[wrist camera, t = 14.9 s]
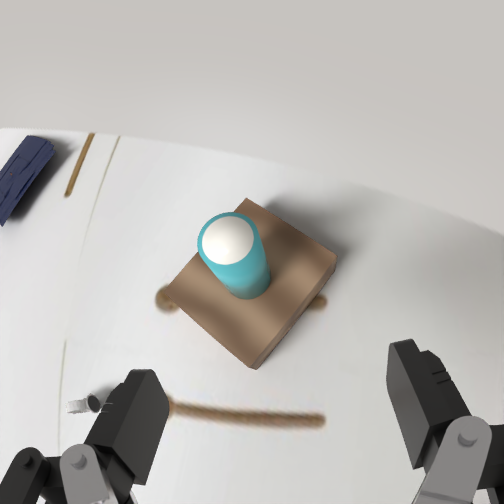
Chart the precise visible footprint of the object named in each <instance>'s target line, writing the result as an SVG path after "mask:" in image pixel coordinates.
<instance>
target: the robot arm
mask: <svg viewBox="0 0 504 504" xmlns="http://www.w3.org/2000/svg"><path fill="white" fill-rule="evenodd" d="M386 382H387V390H388V394H389V397H390V399H391V402H392V405H393V408H394V411H395V414H396V417H397V420H398V423H399V426H400V429H401V432H402V435H403V438H404V441H405V445H406V448H407V451H408V454H409V458H410V461H411V464H412V468H413V469H417V468H420V467H424V470H425V473H426V476H425V478H424V480H423V482H422V484H421V486H420V488H419V490H418V492H417V494H416V496H415V498H414V500H413V502H412V503H411V504H473V503H472V502H473V498H474V495H475V492H476V490H479V489H487V492H488V496H489V499H490V503H491V504H504V424H503V425H488V424H487V423H486V422H485V421H484V420H483V419H481V418H479V417H476V416H472V415H471V413H470V412H469V410H468V408H467V406H466V404H465V402H464V400H463V399H462V397H461V395H460V393H459V391H458V389H457V388H456V386H455V384H454V382H453V381H451V377H450V375H449V374H448V372H446V368H445V367H444V365H443V363H442V362H441V360H440V358H438V357H437V356H436V355H434V354H433V353H432V352H430V351H429V350H427V351H423V352H420V351H419V349H418V347H417V345H416V344H415V342H414V340H413V339H407V340H403V341H398V342H394V343H390V345H389V353H388V365H387V375H386ZM105 403H106V404H105V405H104V406H103V408H102V409H101V413H99V415H98V417H97V419H96V421H95V423H94V425H93V426H92V428H91V430H90V432H89V434H88V436H87V438H86V440H85V442H84V443H83V444H77V445H74V446H71V447H70V448H68V449H67V450H66V451H65V452H64V453H63V454H62V456H59V457H44V456H43V455H42V454H41V453H40V451H39V450H38V449H36V448H33V447H28V448H25V449H23V450H21V451H20V452H18V453H17V455H16V456H15V457H14V459H13V461H12V463H11V465H10V467H9V469H8V471H7V472H6V474H5V476H4V478H3V480H2V482H1V484H0V504H36V502H37V500H38V498H39V495H40V496H41V497H43V498H44V499H45V500H46V502H45V504H138V502H137V500H136V498H135V496H134V494H133V492H132V491H131V488H132V485H133V484H139V485H145V484H146V481H147V478H148V475H149V472H150V469H151V466H152V463H153V460H154V457H155V454H156V451H157V448H158V445H159V442H160V439H161V436H162V433H163V430H164V427H165V424H166V421H167V418H168V415H169V401H168V398H167V396H166V394H165V392H164V390H163V388H162V386H161V384H160V382H159V380H158V378H157V376H156V374H155V372H154V371H153V370H151V369H133V370H131V371H130V372H129V374H128V376H127V378H126V380H125V381H124V383H120V384H119V385H118V386H117V387H116V388H115V389H114V390H113V391H112V392H111V393H110V395H109V397H108V398H107V400H106V402H105Z"/></svg>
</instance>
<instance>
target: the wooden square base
mask: <svg viewBox="0 0 504 504" xmlns="http://www.w3.org/2000/svg"><path fill="white" fill-rule="evenodd" d="M234 212H235V213H240V214H243V215H245V216H247V217H249V218H250V219H251V220H252V221H253V222H254V224H255V225H256V227H257V229H258V233H259V236H260V239H261V242H262V245H263V248H264V251H265V254H266V258H267V261H268V264H269V267H270V270H271V281H270V284H269V286H268V288H267V289H266V291H265V292H264V293H263V294H261V295H260V296H258V297H256V298H254V299H249V300H244V299H239V298H237V297H235V296H233V295H232V294H231V293H230V292H229V291H228V290H227V289H226V288H225V286H224V285H223V284H222V283H221V281H220V280H219V279H218V278H217V277H216V275H215V274H214V273H213V272H212V270H211V269H210V268H209V267H208V266H207V264H206V263H205V262H204V261H203V259H202V258H201V256H200V254H199V251H198V252H197V253H196V254H195V256H194V257H193V258H192V259H191V260H190V261H189V262H188V264H187V265H186V266H185V267H184V268H183V269H182V271H181V272H180V273H179V274H178V275H177V276H176V278H175V279H174V280H173V281H172V282H171V283H170V285H169V286H168V287H167V288H166V289H165V290H164V293H165V294H166V295H167V296H168V297H169V298H170V299H171V300H172V301H173V302H174V303H176V304H177V305H178V306H179V307H180V308H181V309H182V310H183V311H184V312H185V313H186V314H188V315H189V316H190V317H191V318H192V319H193V320H194V321H195V322H196V323H197V324H199V325H200V326H201V327H202V328H203V329H204V330H205V331H206V332H208V333H209V334H210V335H211V336H212V337H213V338H214V339H216V340H217V341H218V342H219V343H220V344H221V345H223V346H224V347H225V348H226V349H227V350H228V351H230V352H231V353H232V354H233V355H234V356H235V357H237V358H238V359H239V360H240V361H241V362H243V363H244V364H245V365H246V366H247V367H249V368H252V369H255V370H257V369H258V367H259V366H260V365H261V364H262V363H263V362H264V360H265V359H266V358H267V357H268V356H269V354H270V353H271V352H272V351H273V350H274V348H275V347H276V346H277V345H278V343H279V342H280V341H281V340H282V338H283V337H284V336H285V335H286V334H287V332H288V331H289V330H290V329H291V327H292V326H293V325H294V323H295V322H296V321H297V320H298V318H299V317H300V316H301V315H302V313H303V312H304V311H305V309H306V308H307V307H308V306H309V304H310V303H311V302H312V300H313V299H314V298H315V296H316V295H317V294H318V292H319V291H320V290H321V289H322V287H323V286H324V285H325V283H326V282H327V280H328V279H329V278H330V276H331V275H332V274H333V272H334V271H335V266H336V261H337V255H335V254H334V253H332V252H331V251H329V250H328V249H326V248H325V247H323V246H322V245H320V244H319V243H317V242H316V241H314V240H312V239H311V238H309V237H308V236H306V235H305V234H303V233H302V232H300V231H299V230H297V229H295V228H294V227H292V226H291V225H289V224H288V223H286V222H284V221H283V220H281V219H280V218H278V217H277V216H275V215H273V214H272V213H270V212H269V211H267V210H265V209H264V208H262V207H261V206H259V205H257V204H256V203H254V202H252V201H251V200H249V199H248V198H246V199H245V200H244V201H243V202H242V203H241V204H240V205H239V206H238V207H237V209H236V210H235V211H234Z"/></svg>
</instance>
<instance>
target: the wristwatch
mask: <svg viewBox="0 0 504 504" xmlns="http://www.w3.org/2000/svg"><path fill="white" fill-rule="evenodd" d="M65 405H66V410H67V413H72V414H76V413H83V412H90V411H91V412H92V413H98V412H99V410H100V403H99V401H98V399H97V398H96V397H95V396H94V395H91V394H90V395H88V396H87V398H84V399H83V400H75V401H71V402H67V403H66V404H65Z"/></svg>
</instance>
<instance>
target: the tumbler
mask: <svg viewBox="0 0 504 504" xmlns="http://www.w3.org/2000/svg"><path fill="white" fill-rule="evenodd" d="M197 246H198V251H199V254H200V256H201V258H202V259H203V261H204V262H205V263H206V264H207V266H208V267H209V268H210V269H211V270H212V272H213V273H214V274H215V275H216V277H217V278H218V279H219V280H220V281H221V283H222V284H223V285H224V286H225V288H226V289H227V290H228V291H229V292H230V293H231V294H232V295H233V296H235V297H237V298H239V299H244V300H249V299H254V298H256V297H258V296H260V295H261V294H263V293H264V292H265V291H266V289H267V288H268V286H269V284H270V281H271V270H270V267H269V264H268V261H267V258H266V254H265V251H264V248H263V245H262V242H261V239H260V236H259V233H258V229H257V227H256V225H255V224H254V222H253V221H252V220H251V219H250V218H249V217H247V216H245V215H243V214H240V213H235V212H227V213H222V214H219V215H217V216H215V217H213V218H212V219H210V220H209V221H208V222H207V223H206V224H205V225H204V226H203V228H202V229H201V231H200V234H199V236H198V242H197Z"/></svg>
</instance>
